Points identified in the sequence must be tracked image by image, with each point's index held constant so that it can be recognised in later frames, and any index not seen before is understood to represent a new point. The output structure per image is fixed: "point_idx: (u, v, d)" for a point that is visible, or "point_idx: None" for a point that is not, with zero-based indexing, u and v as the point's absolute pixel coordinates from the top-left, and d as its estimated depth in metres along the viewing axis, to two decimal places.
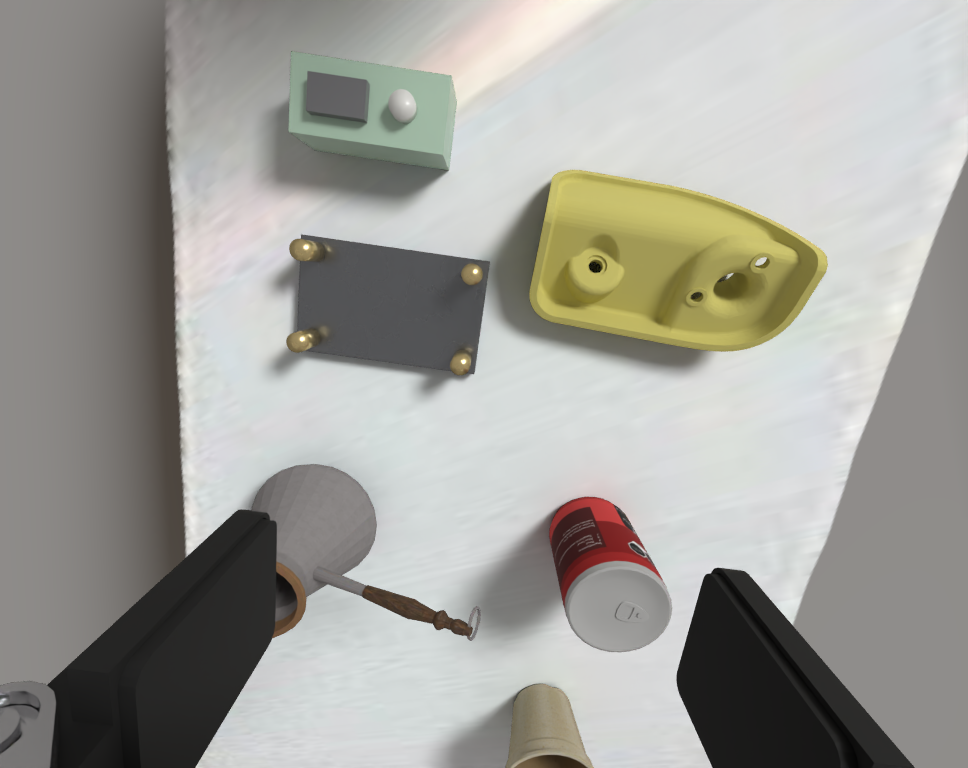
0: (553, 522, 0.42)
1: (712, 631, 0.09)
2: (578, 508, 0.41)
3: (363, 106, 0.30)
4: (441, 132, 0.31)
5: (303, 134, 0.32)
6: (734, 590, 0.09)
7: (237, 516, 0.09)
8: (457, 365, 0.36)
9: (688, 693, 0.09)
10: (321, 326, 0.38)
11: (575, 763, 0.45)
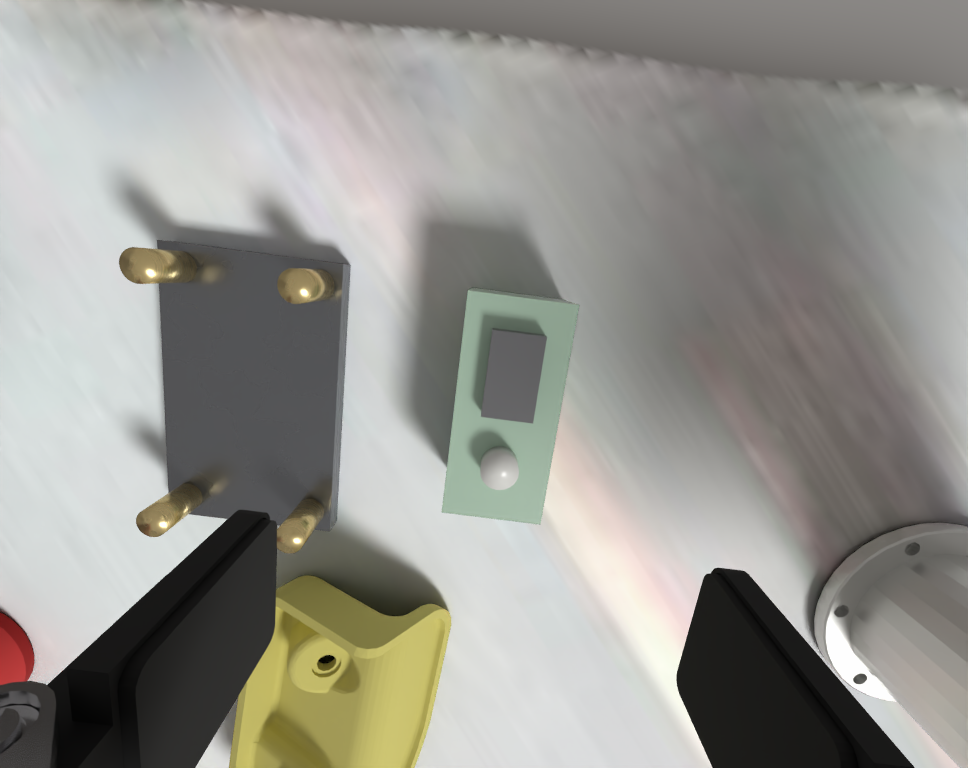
0: None
1: (712, 631, 0.09)
2: None
3: (497, 417, 0.20)
4: (470, 511, 0.22)
5: None
6: (734, 590, 0.09)
7: (237, 516, 0.09)
8: (151, 520, 0.23)
9: (688, 692, 0.09)
10: (202, 287, 0.23)
11: None
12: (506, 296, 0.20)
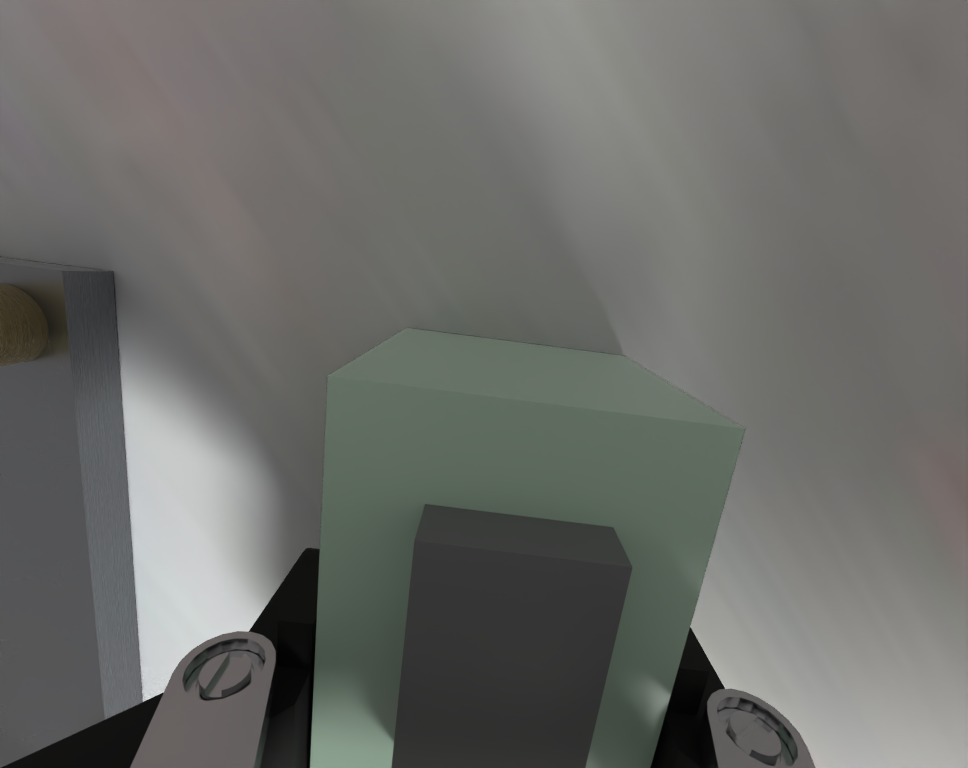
0: None
1: None
2: None
3: None
4: None
5: None
6: None
7: None
8: None
9: None
10: None
11: None
12: (473, 397, 0.05)
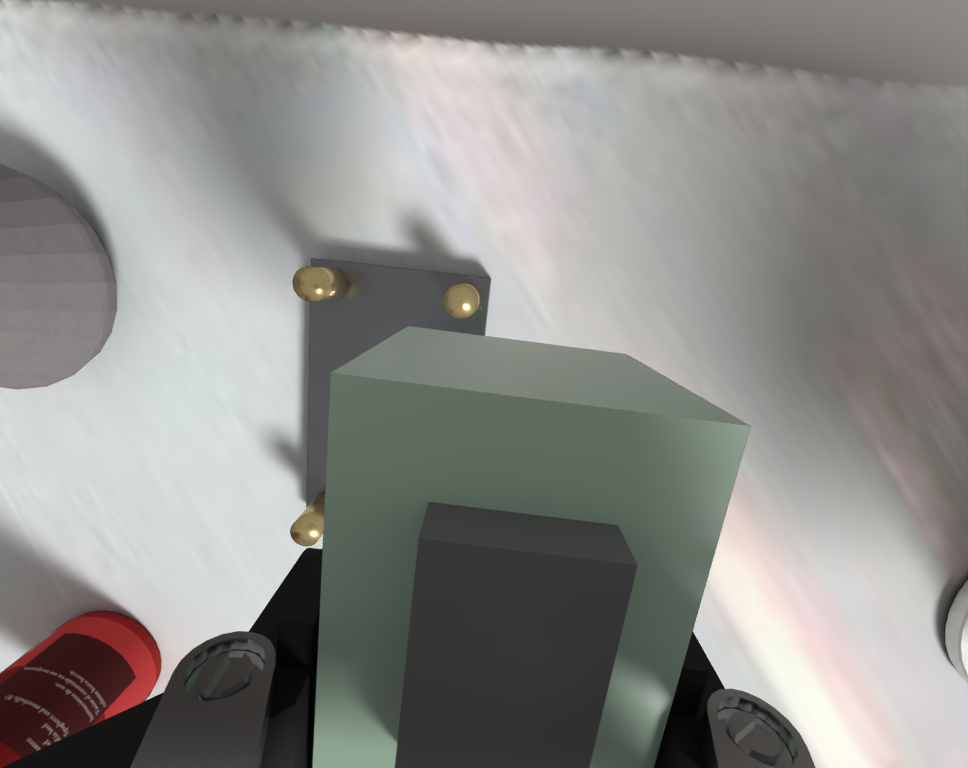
0: (106, 624, 0.30)
1: None
2: (130, 663, 0.29)
3: None
4: None
5: None
6: None
7: None
8: (304, 529, 0.24)
9: None
10: (352, 302, 0.24)
11: None
12: (477, 395, 0.05)
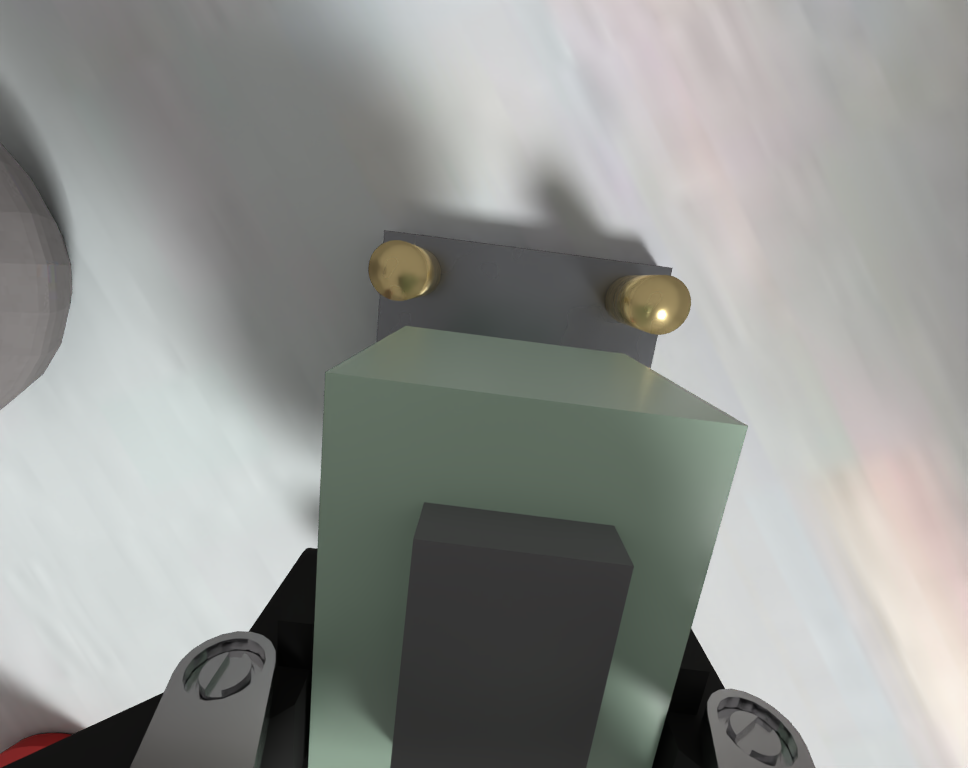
0: None
1: None
2: None
3: None
4: None
5: None
6: None
7: None
8: None
9: None
10: (446, 302, 0.15)
11: None
12: (472, 395, 0.05)
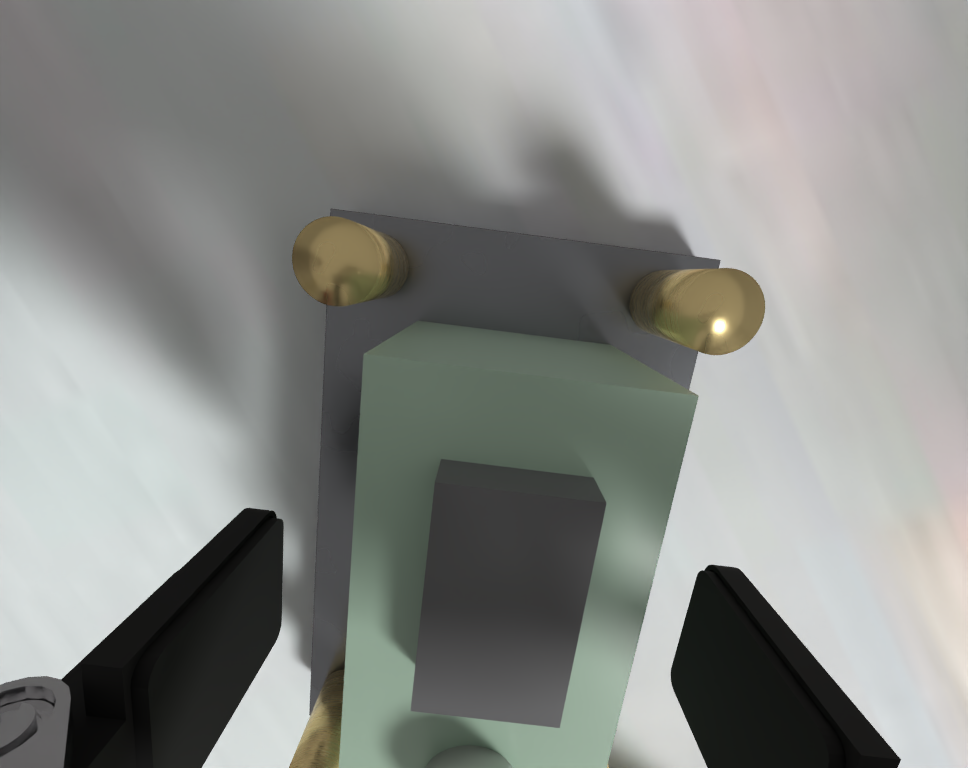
0: None
1: (705, 627, 0.09)
2: None
3: (458, 713, 0.07)
4: None
5: None
6: (727, 587, 0.09)
7: (244, 515, 0.09)
8: None
9: (682, 689, 0.09)
10: (416, 307, 0.11)
11: None
12: (480, 371, 0.07)
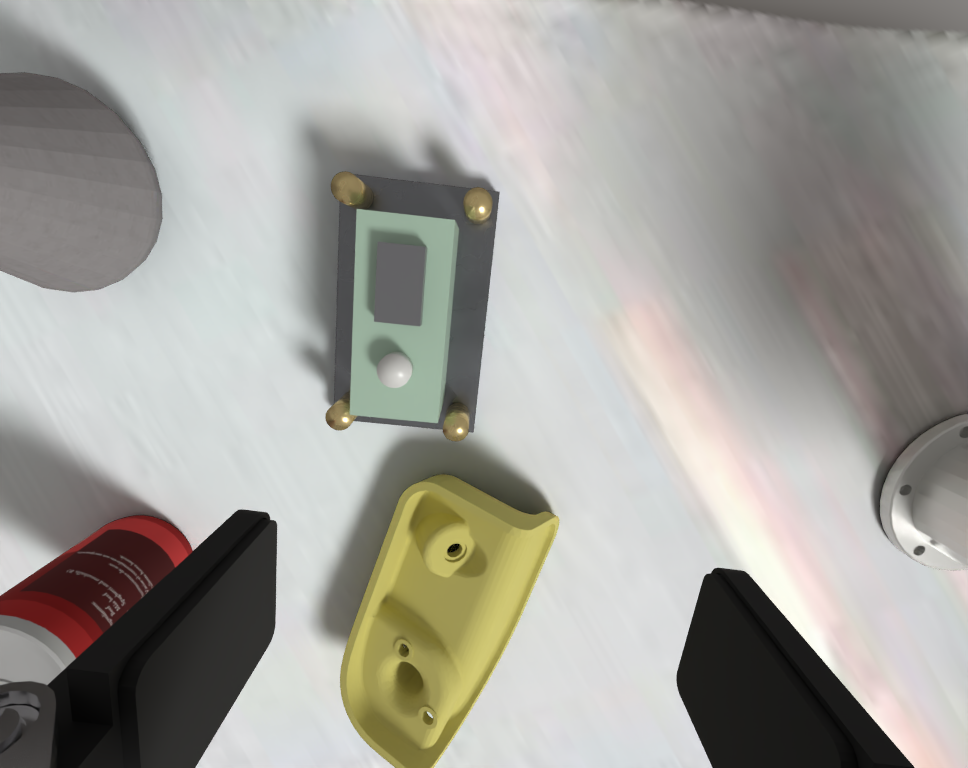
0: (145, 524, 0.32)
1: (712, 631, 0.09)
2: (170, 556, 0.32)
3: (388, 321, 0.23)
4: (375, 413, 0.25)
5: None
6: (734, 590, 0.09)
7: (237, 516, 0.09)
8: (338, 414, 0.27)
9: (688, 693, 0.09)
10: None
11: None
12: (390, 213, 0.23)
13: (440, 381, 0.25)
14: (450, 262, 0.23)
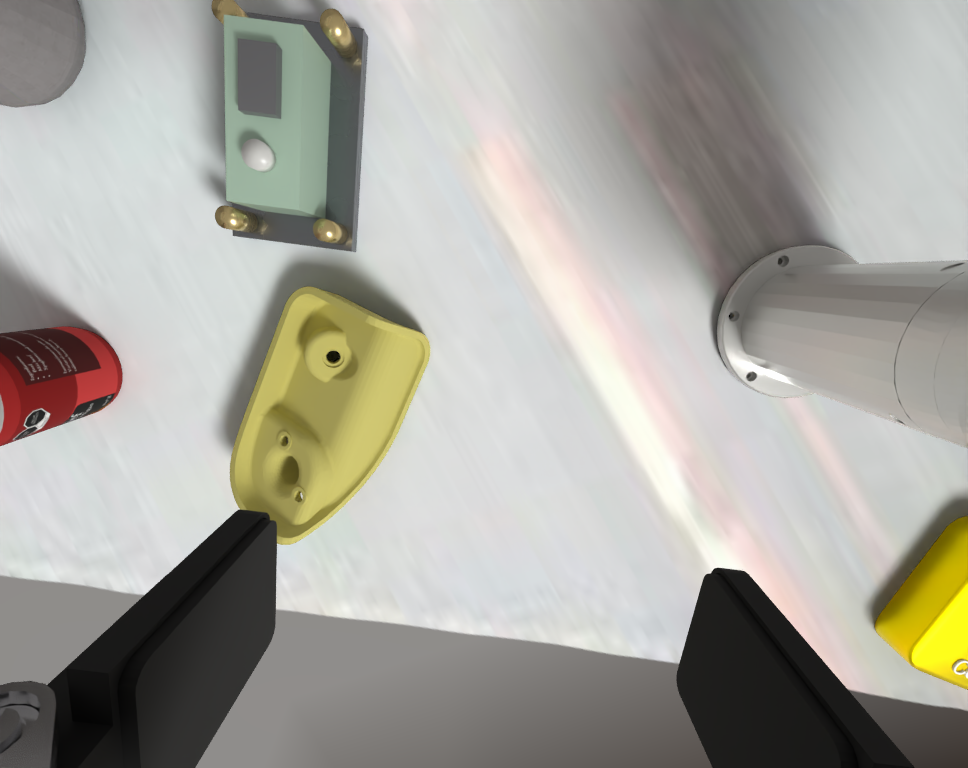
0: (77, 330, 0.38)
1: (712, 631, 0.09)
2: (96, 356, 0.37)
3: (249, 109, 0.28)
4: (247, 199, 0.31)
5: None
6: (734, 590, 0.09)
7: (237, 516, 0.09)
8: (225, 214, 0.33)
9: (689, 693, 0.09)
10: None
11: None
12: (251, 19, 0.28)
13: (299, 171, 0.30)
14: (301, 63, 0.29)
